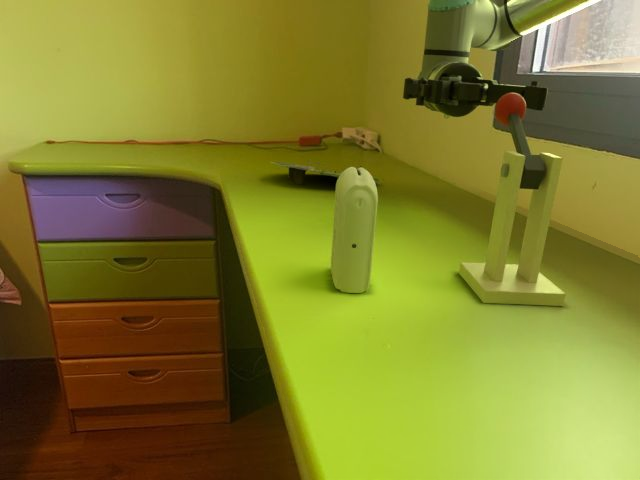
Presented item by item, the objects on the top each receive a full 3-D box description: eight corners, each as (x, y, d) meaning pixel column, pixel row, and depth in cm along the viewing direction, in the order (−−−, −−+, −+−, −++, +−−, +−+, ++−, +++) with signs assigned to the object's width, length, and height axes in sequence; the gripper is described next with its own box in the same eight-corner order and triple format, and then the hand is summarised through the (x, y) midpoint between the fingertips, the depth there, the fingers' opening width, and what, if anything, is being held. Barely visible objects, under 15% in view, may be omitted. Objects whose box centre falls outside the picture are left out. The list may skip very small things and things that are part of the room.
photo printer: (372, 294, 76) (383, 176, 70) (333, 293, 75) (341, 174, 69) (363, 269, 85) (372, 162, 79) (328, 267, 84) (335, 160, 79)
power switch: (458, 273, 86) (477, 145, 79) (528, 276, 86) (554, 149, 79) (483, 303, 75) (508, 159, 68) (563, 306, 76) (596, 163, 69)
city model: (404, 196, 146) (409, 166, 143) (333, 192, 128) (337, 157, 126) (316, 181, 160) (320, 153, 158) (242, 175, 143) (245, 144, 141)
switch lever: (489, 114, 84) (497, 85, 81) (517, 115, 84) (527, 87, 81) (510, 193, 75) (521, 164, 72) (542, 194, 76) (554, 166, 73)
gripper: (527, 120, 110) (577, 132, 92) (373, 110, 109) (391, 121, 90) (537, 67, 107) (590, 69, 88) (377, 56, 105) (398, 56, 87)
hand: (490, 95), depth 89 cm, fingers open, 13 cm apart
